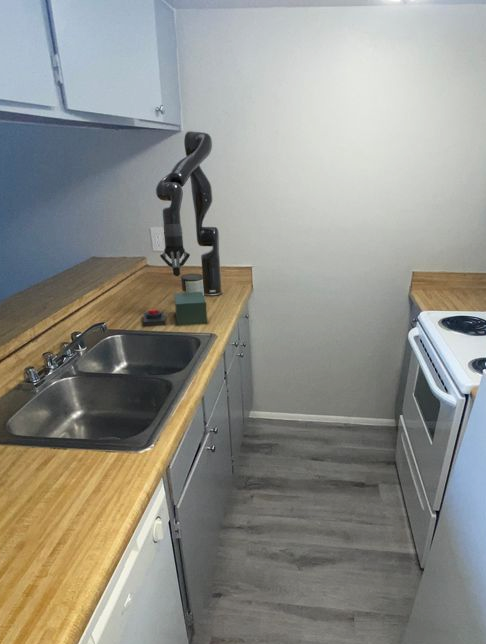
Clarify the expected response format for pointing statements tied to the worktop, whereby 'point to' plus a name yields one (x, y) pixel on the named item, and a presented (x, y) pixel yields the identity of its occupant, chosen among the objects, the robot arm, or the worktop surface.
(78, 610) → the worktop surface
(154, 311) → the button
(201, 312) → the chest
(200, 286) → the coffee can
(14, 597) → the worktop surface
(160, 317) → the button block
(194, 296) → the lid
